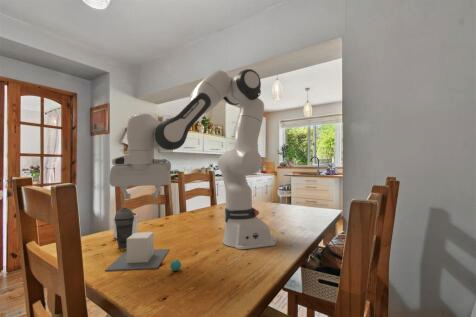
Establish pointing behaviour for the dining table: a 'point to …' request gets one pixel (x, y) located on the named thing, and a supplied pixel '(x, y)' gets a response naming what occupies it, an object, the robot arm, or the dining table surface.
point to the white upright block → (140, 247)
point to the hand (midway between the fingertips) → (141, 198)
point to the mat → (151, 264)
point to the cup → (134, 228)
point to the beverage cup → (123, 225)
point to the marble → (175, 265)
